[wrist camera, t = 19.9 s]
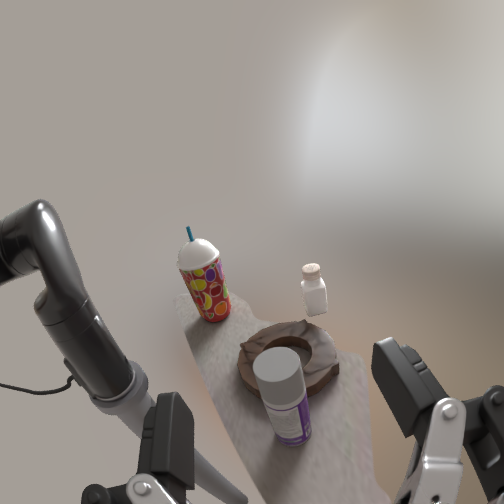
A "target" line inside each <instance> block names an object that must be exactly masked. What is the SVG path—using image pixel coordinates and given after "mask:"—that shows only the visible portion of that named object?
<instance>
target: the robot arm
mask: <svg viewBox="0 0 504 504" xmlns="http://www.w3.org/2000/svg"><path fill="white" fill-rule="evenodd" d="M39 270H40V271H41V273H42V276H43V278H44V281H45V284H46V288H45V289H44V290H43V291H42V292H41V293H40V294H39V296H38V297H37V299H36V301H35V303H34V310H35V313H36V314H37V316H38V318H39V319H40V321H41V323H42V324H43V326H44V327H45V329H46V330H47V332H48V334H49V335H50V337H51V338H52V340H53V341H54V342H55V344H56V345H57V347H58V348H59V350H60V351H61V353H62V354H63V355H64V357H65V358H64V364H65V365H66V367H67V368H68V369H69V371H70V372H71V373H72V374H73V375H71V376H70V377H69V378H68V379H67V385H65V386H64V387H61V388H59V389H55V390H49V391H32V390H28V389H24V388H19V387H14V386H10V385H5V384H1V383H0V386H1V387H5V388H9V389H13V390H17V391H23V392H27V393H30V394H34V395H47V394H54V393H58V392H62V391H64V390H66V389H68V388H70V386H71V381H72V380H73V379H75V381H76V382H77V383H78V385H79V386H82V387H83V388H84V389H85V390H86V391H87V392H88V394H89V395H90V396H91V397H92V398H93V399H99V400H100V401H102V402H114V401H118V400H120V399H122V398H123V397H125V396H126V395H127V394H128V393H129V392H130V391H131V390H132V389H133V387H134V385H135V383H136V379H137V375H136V371H135V370H134V368H133V367H132V365H131V364H130V363H129V362H128V360H127V359H126V357H125V356H124V354H123V353H122V351H121V350H120V348H119V346H118V345H117V343H116V342H115V340H114V338H113V337H112V335H111V334H110V332H109V330H108V329H107V327H106V325H105V323H104V322H103V320H102V318H101V317H100V315H99V313H98V311H97V310H96V308H95V306H94V304H93V302H92V300H91V298H90V297H89V295H88V293H87V291H86V289H85V287H84V284H83V281H82V277H81V273H80V270H79V268H78V265H77V263H76V260H75V258H74V256H73V253H72V250H71V248H70V245H69V242H68V239H67V236H66V233H65V231H64V228H63V225H62V222H61V220H60V218H59V216H58V214H57V212H56V210H55V209H54V207H53V206H52V205H51V204H50V203H49V202H48V201H46V200H42V199H40V200H36V201H33V202H31V203H29V204H27V205H25V206H23V207H21V208H20V209H18V210H16V211H14V212H13V213H11V214H9V215H8V216H6V217H4V218H3V219H1V220H0V286H2V285H4V284H6V283H8V282H10V281H13V280H15V279H18V278H21V277H24V276H27V275H29V274H32V273H34V272H37V271H39ZM371 369H372V374H373V377H374V379H375V381H376V383H377V385H378V387H379V389H380V390H381V392H382V394H383V396H384V398H385V400H386V402H387V403H388V405H389V407H390V409H391V411H392V413H393V415H394V417H395V418H396V421H397V422H398V424H399V426H400V428H401V430H402V432H403V434H404V436H405V438H407V437H409V436H411V435H413V434H414V436H415V438H416V442H415V446H414V449H413V453H412V456H411V460H410V464H409V467H408V470H407V473H406V476H405V479H404V482H403V484H402V485H401V487H400V489H399V491H398V494H397V496H396V499H395V501H394V504H433V503H432V502H433V501H434V504H455V502H456V498H457V494H458V490H459V487H460V482H461V478H462V474H463V464H462V463H461V462H460V456H461V450H462V445H463V446H464V448H465V449H466V451H467V454H468V456H469V458H470V460H471V462H472V464H473V467H474V469H475V471H476V473H477V476H478V478H479V480H480V483H481V485H482V487H483V490H484V492H485V495H486V497H487V500H488V504H504V387H503V386H499V385H496V386H492V387H490V388H489V389H487V391H486V392H485V394H484V395H483V396H481V397H477V398H474V399H470V400H466V401H460V400H458V399H456V398H451V397H449V396H448V395H447V394H446V392H445V391H444V389H443V388H442V386H441V385H440V384H439V382H438V381H437V379H436V378H435V377H434V375H433V374H432V372H431V371H430V370H429V369H428V368H427V365H426V364H425V363H424V361H422V359H421V357H420V356H419V354H418V353H417V352H416V351H415V350H414V349H412V348H410V347H409V346H407V345H403V346H399V345H398V344H397V342H396V341H395V340H394V339H393V338H392V337H389V338H387V339H384V340H382V341H379V342H376V343H374V346H373V355H372V365H371ZM194 487H195V486H194V419H193V415H192V412H191V410H190V409H189V408H188V406H187V405H186V403H185V402H184V400H183V399H182V398H181V396H180V395H179V393H178V392H171V393H162V394H159V395H158V397H157V404H156V407H150V408H149V410H148V412H147V414H146V415H145V417H144V423H143V430H142V439H141V445H140V453H139V461H138V469H137V473H136V475H135V476H133V477H132V478H130V479H129V481H128V483H127V484H124V485H120V486H116V487H111V488H104V487H103V486H101V485H99V484H91V485H89V486H87V487H86V488H85V489H84V491H83V493H82V500H81V504H191V503H190V501H189V500H187V498H186V490H194V489H195V488H194Z"/></svg>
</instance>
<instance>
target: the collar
mask: <svg viewBox="0 0 504 504" xmlns="http://www.w3.org/2000/svg"><path fill="white" fill-rule="evenodd" d="M240 346H241V350H240V353H239V358H238V364H237V366H238V368H239V371H240V374H241V376H242V379H243V381H244V384H245V386H246V388H247V389H248V390H250V391H251V392H252V393H253V394H254V395H256V396H257V397H258V398H261V399H262V397H261V394H260V390H259V387H258V384H257V381H256V378H255V374H254V371H253V363H254V361H255V359H256V358H257V356H258V355H259V354H261V353H262V352H264V351H265V350H268V349H270V348H274V347H288V346H296V347H302V348H304V349H305V350H307V351H309V353H310V354H311V355H312V357H311V359H310V361H309V363H308V364H307V365H305V366H304V367H303V368H302V373H303V378H304V383H305V387H306V394H307V397H309V396H312V395H314V394H316V393H318V392H319V391H320V390H321V389H322V388H323V387H324V386H325V385H326V384H327V383H328V382H329V381H330V380H331V378H332V376H334V375H337V374H339V362H338V361H337V360H336V350H335V344H334V341H333V339H332V338H331V337H330V336H329V335H328V333H327V332H326V331H325V330H323V329H321V328H319V327H317V326H315V325H313V324H311V323H307V321H306V320H302V321H299V322H296V321H294V322H286V323H278V324H275V325H273V326H270V327H267V328H265V329H262V330H260V331H259V332H258V333H256V334H255V335H254V336H252V337H251V338H249V339H248V341H247V342H244V343H241V344H240Z"/></svg>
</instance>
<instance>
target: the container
mask: <svg viewBox="0 0 504 504" xmlns="http://www.w3.org/2000/svg"><path fill="white" fill-rule="evenodd" d="M253 371H254V374H255V378H256V381H257V384H258V387H259V390H260V394H261V397H262V400H263V403H264V405H265V408H266V411H267V413H268V416H269V418H270V421H271V424H272V426H273V429H274V431H275V434H276V436H277V439H278V440H279V442H280V443H282V444H283V445H286V446H291V447H294V446H299V445H301V444H303V443H305V442H306V441H307V440H308V439H309V438H310V436H311V432H312V430H311V421H310V414H309V407H308V400H307V394H306V387H305V383H304V378H303V373H302V368H301V363H300V358H299V356H298V354H297V353H296V352H295V351H293V350H292V349H289V348H286V347H274V348H270V349H268V350H265V351H264V352H262V353H261V354H259V355H258V356H257V358H256V359H255V361H254V363H253Z"/></svg>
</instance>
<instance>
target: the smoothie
mask: <svg viewBox="0 0 504 504" xmlns="http://www.w3.org/2000/svg"><path fill="white" fill-rule="evenodd" d="M186 229H187V232H188V235H189V238H190V240H189V241H188V242H186V243H185V244H184V245H183V246H182V248H181V249H180V251H179V256H178V261H177V266H178V268H179V270H180V272H181V275H182V277H183V279H184V281H185V283H186V286H187V288H188V290H189V292H190V294H191V296H192V298H193V300H194V302H195V305H196V307H197V309H198V311H199V313H200V315H201V316H202V317H203V318H205V319H206V320H207V321H209V322H217V321H221V320H223V319H225V318H226V317H227V316H228V315H229V313H230V309H231V303H230V298H229V294H228V290H227V286H226V282H225V277H224V273H223V269H222V265H221V260H220V256H219V251H218V250H217V249H216V248H215V247H214V246H213V245H212V244H211V243H209V242H208V241H206V240H203V239H193V236H192V233H191V230H190V227H189V226H188V227H186Z"/></svg>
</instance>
